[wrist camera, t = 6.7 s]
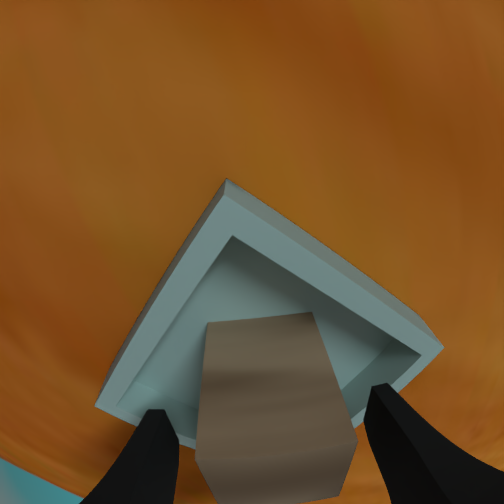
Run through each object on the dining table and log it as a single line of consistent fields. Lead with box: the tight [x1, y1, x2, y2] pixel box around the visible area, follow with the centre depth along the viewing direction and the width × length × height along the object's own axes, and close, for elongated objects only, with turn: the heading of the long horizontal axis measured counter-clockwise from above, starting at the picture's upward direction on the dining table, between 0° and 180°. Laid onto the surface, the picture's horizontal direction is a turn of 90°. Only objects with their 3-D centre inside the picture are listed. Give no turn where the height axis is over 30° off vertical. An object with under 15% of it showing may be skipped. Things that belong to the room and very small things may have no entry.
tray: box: [95, 178, 444, 449], centre depth 12 cm, size 11×11×2 cm
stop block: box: [195, 312, 358, 504], centre depth 10 cm, size 4×4×6 cm
